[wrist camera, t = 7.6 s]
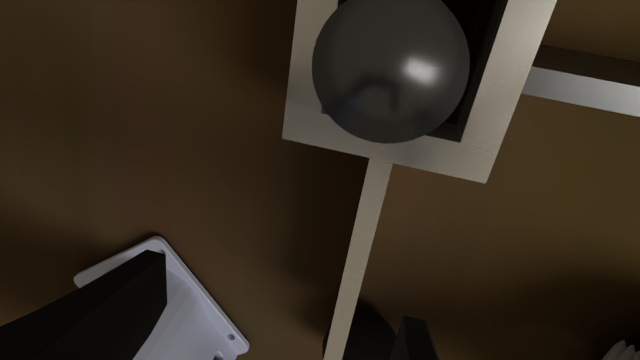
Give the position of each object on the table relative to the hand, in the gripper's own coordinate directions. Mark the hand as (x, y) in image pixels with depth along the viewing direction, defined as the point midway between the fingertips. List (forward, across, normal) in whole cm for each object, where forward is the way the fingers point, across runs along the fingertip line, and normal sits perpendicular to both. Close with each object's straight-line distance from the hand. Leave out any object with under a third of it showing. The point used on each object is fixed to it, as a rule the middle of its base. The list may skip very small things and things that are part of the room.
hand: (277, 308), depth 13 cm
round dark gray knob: (+9, -2, -7) cm, 12 cm away
